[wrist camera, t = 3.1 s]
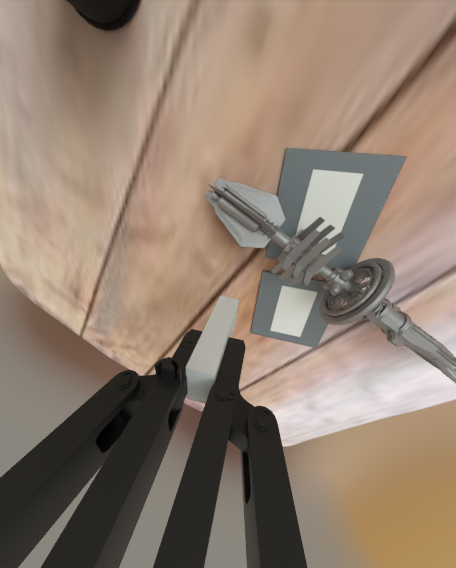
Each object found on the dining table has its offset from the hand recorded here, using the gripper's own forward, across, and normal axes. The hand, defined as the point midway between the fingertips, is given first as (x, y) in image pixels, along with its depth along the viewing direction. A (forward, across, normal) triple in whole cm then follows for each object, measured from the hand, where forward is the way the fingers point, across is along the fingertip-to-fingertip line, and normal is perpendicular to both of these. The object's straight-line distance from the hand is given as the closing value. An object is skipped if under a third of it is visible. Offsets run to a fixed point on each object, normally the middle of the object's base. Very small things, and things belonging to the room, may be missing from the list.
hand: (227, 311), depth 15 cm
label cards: (+11, +7, 0) cm, 13 cm away
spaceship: (+11, +11, 0) cm, 15 cm away
